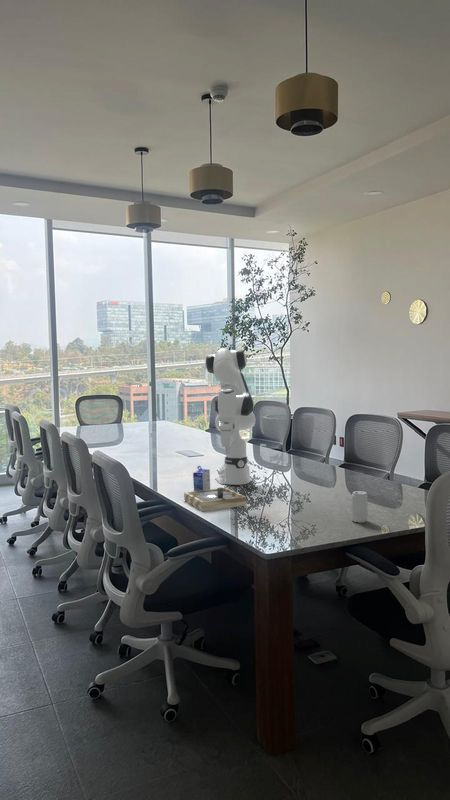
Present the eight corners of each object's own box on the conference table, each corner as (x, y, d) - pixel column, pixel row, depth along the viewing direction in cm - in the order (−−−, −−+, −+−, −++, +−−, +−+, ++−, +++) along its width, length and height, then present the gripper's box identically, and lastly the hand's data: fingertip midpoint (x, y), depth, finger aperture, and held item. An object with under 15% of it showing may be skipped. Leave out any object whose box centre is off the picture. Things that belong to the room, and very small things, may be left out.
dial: (191, 496, 279) (191, 483, 279) (223, 492, 286) (223, 480, 286) (205, 504, 264) (204, 490, 264) (238, 499, 271) (238, 487, 271)
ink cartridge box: (200, 492, 298) (200, 464, 297) (210, 493, 296) (210, 464, 295) (193, 497, 288) (192, 467, 287) (203, 497, 287) (203, 468, 286)
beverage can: (349, 519, 244) (349, 490, 243) (364, 518, 244) (364, 490, 244) (354, 523, 238) (354, 494, 237) (369, 523, 238) (369, 493, 237)
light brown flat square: (184, 500, 281) (184, 491, 280) (226, 495, 290) (226, 487, 290) (201, 511, 261) (201, 501, 261) (246, 505, 270) (246, 496, 270)
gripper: (223, 421, 283) (223, 450, 284) (218, 426, 263) (218, 457, 264) (236, 421, 282) (236, 450, 283) (232, 426, 262) (233, 457, 263)
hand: (228, 453), depth 273 cm, fingers closed
